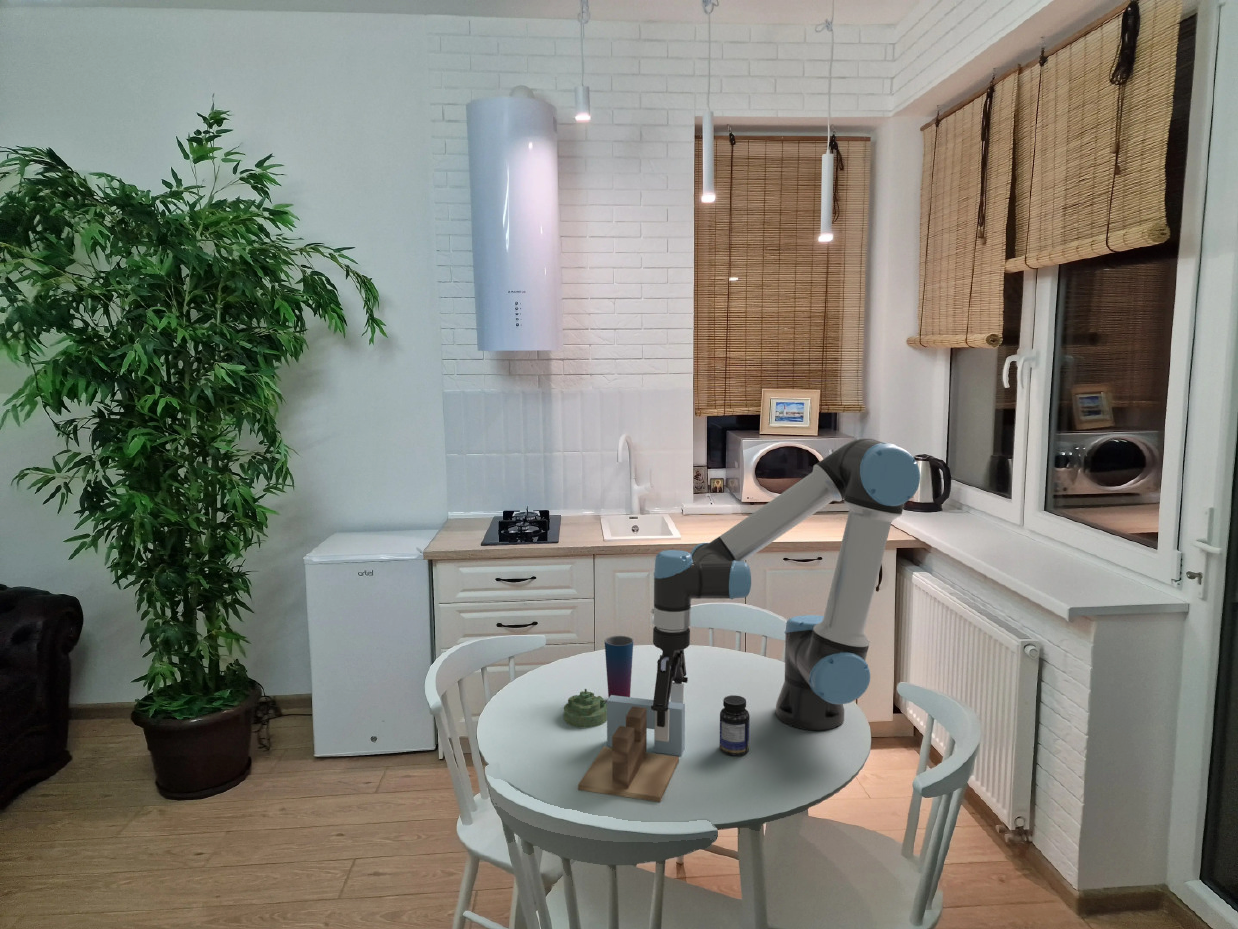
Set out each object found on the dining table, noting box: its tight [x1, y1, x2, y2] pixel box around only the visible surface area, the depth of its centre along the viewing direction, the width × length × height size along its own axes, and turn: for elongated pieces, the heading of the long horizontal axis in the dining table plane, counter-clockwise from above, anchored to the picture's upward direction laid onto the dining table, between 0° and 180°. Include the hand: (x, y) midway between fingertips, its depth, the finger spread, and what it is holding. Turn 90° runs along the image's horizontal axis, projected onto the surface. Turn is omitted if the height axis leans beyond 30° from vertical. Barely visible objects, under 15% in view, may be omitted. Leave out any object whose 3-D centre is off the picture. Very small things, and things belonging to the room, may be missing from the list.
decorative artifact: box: [563, 688, 607, 729], centre depth 189 cm, size 10×7×10 cm
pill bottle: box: [719, 694, 750, 757], centre depth 173 cm, size 6×6×11 cm
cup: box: [604, 635, 634, 698], centre depth 197 cm, size 7×7×15 cm
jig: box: [577, 706, 680, 803], centre depth 163 cm, size 16×16×11 cm
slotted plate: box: [606, 695, 686, 757], centre depth 174 cm, size 16×3×10 cm, turn 74°
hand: (669, 726), depth 173 cm, fingers open, 13 cm apart
